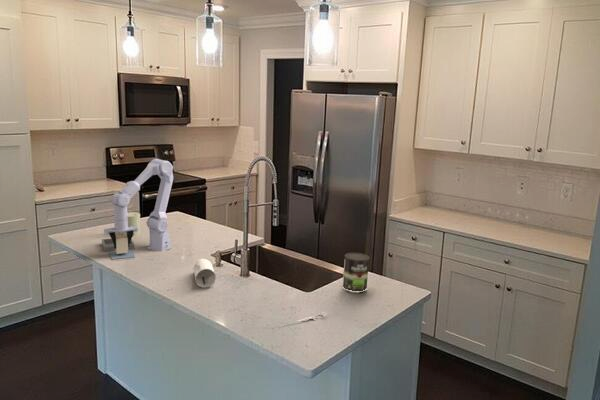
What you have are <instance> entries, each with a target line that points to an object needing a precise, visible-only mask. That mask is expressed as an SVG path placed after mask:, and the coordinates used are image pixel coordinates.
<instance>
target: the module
mask: <svg viewBox="0 0 600 400" xmlns="http://www.w3.org/2000/svg"><path fill="white" fill-rule="evenodd" d="M114 252H116V253H117V254H121V253H128V238H127V236H125V235H124V236H123V235H117V236H116V249H115V251H114Z"/></svg>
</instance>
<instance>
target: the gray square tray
mask: <svg viewBox="0 0 600 400" xmlns="http://www.w3.org/2000/svg"><path fill="white" fill-rule="evenodd" d="M135 245H136V244H135V243H134V241H133V239H131V241H130V245H129V247H128V250H132V251H133V250H136V247H135ZM101 246H102V249H103V251H104V253H109V252H116V251H115V248H114V244H113V241H112V239H111V238H102V239H101Z"/></svg>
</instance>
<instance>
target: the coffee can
mask: <svg viewBox="0 0 600 400" xmlns="http://www.w3.org/2000/svg"><path fill="white" fill-rule="evenodd" d="M343 256H344V262H343V263H344V264H343V276H342V286H343V287H344V288H345V289H348V290H352V291H363V290H365V289H366V288H367V287H368V278H369V277H368V275H369V268H370V267H369V266H370V256H369V255H367V254H365V253H361V252H347V253H345V254H344V255H343Z"/></svg>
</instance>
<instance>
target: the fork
mask: <svg viewBox="0 0 600 400" xmlns="http://www.w3.org/2000/svg"><path fill="white" fill-rule="evenodd" d="M320 313H321V315H322V314H323V315H324V316H326V315H327V316H328V315H329V313H328V312H327V311H326V310H324V311H322V312H320ZM327 316H326V317H327ZM312 317H313V316H309V317H306V318H302V319H299V320H297V321H303V320H306V319H310V318H312Z"/></svg>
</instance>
